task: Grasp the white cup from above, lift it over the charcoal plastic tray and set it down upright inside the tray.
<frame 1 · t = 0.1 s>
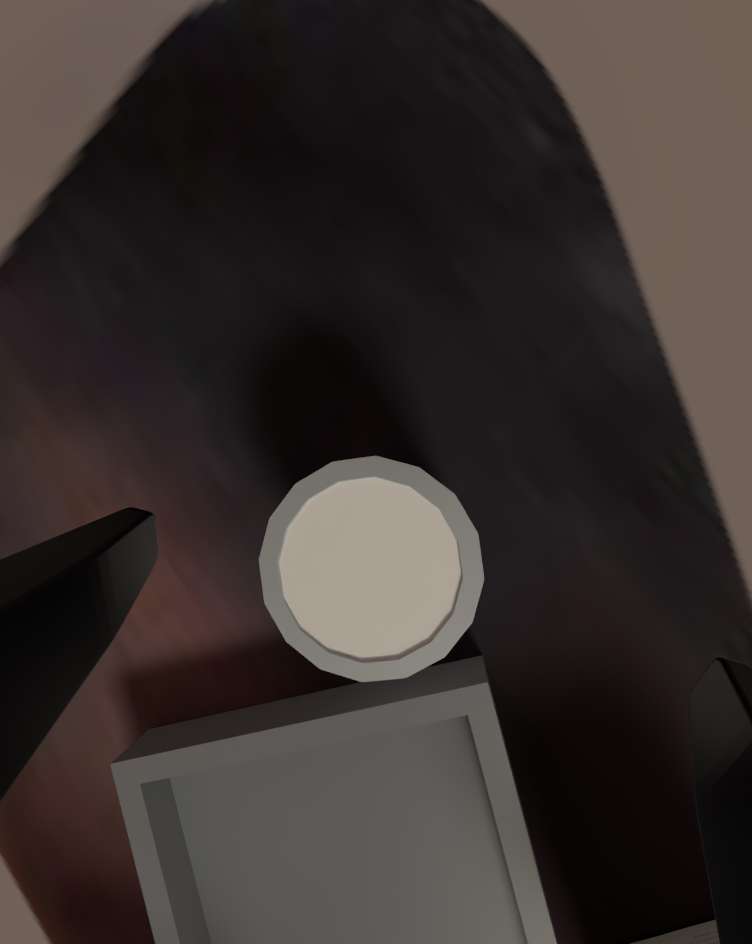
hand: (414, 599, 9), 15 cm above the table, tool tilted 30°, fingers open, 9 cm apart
tray: (354, 865, 25), on the table
white cup: (390, 539, 24), on the table
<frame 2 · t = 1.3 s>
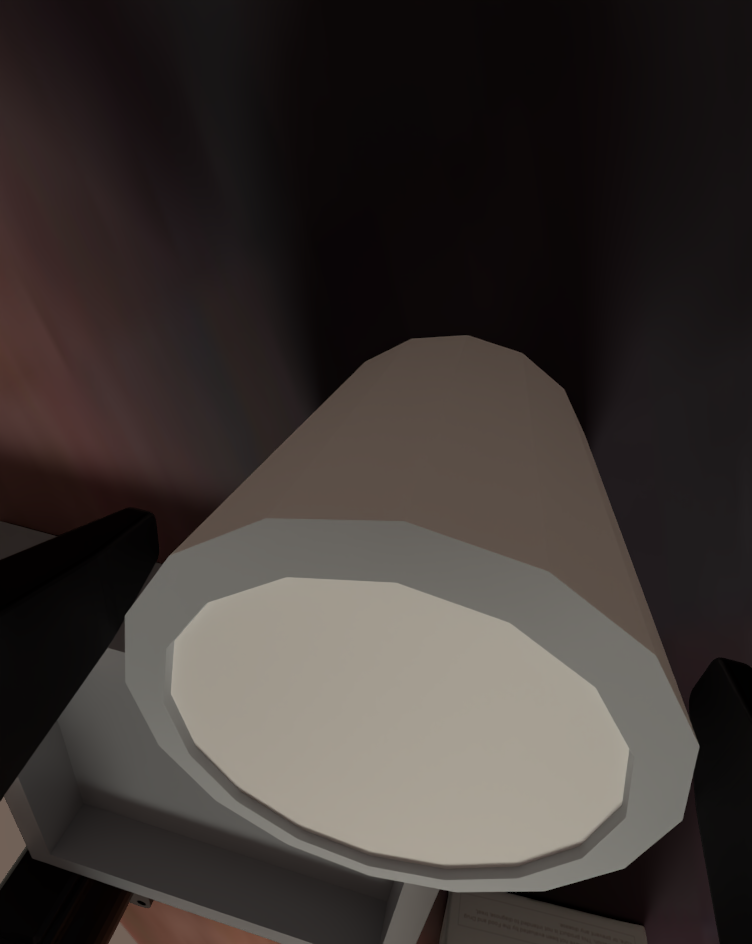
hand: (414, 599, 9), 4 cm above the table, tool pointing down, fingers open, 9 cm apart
tray: (239, 736, 20), on the table
white cup: (450, 454, 13), on the table
supplement box: (532, 931, 24), on the table
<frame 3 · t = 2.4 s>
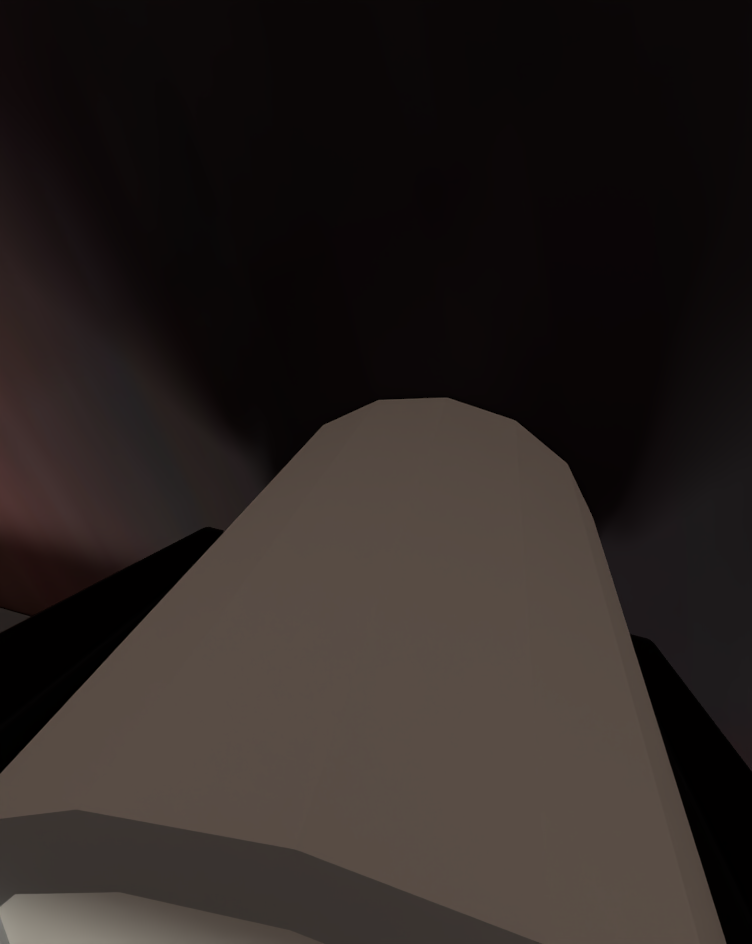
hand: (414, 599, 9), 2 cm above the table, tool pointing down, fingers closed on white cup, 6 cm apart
tray: (201, 814, 18), on the table
white cup: (430, 532, 11), on the table, touching gripper
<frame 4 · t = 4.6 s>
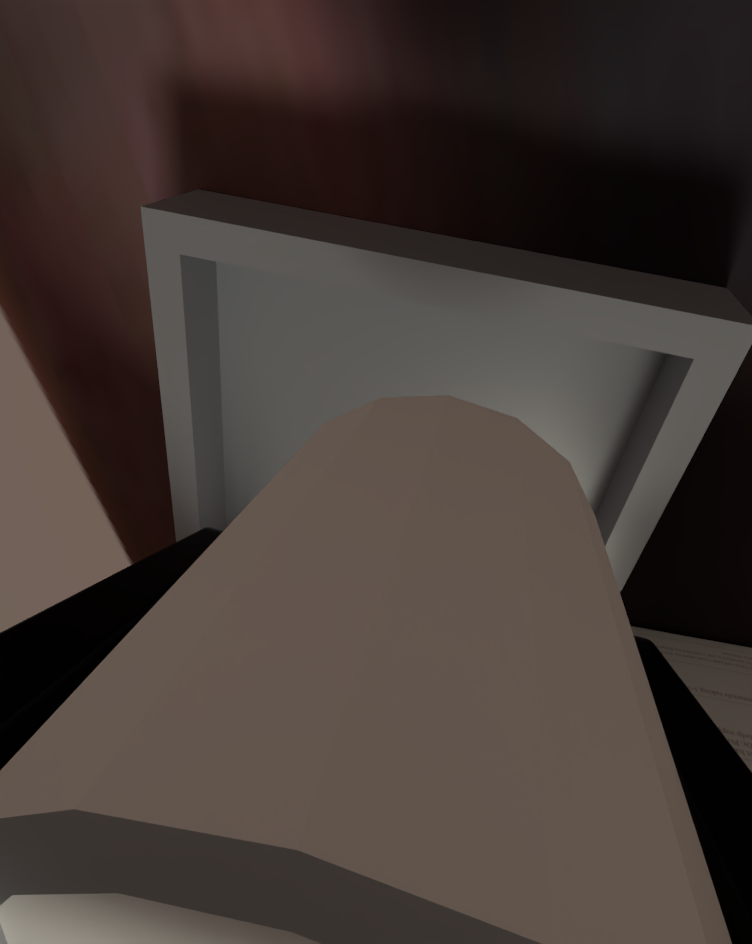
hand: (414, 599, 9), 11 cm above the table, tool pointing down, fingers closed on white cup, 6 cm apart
tray: (406, 457, 20), on the table
white cup: (431, 531, 11), point 9 cm above the table, touching gripper
supplement box: (674, 690, 24), on the table
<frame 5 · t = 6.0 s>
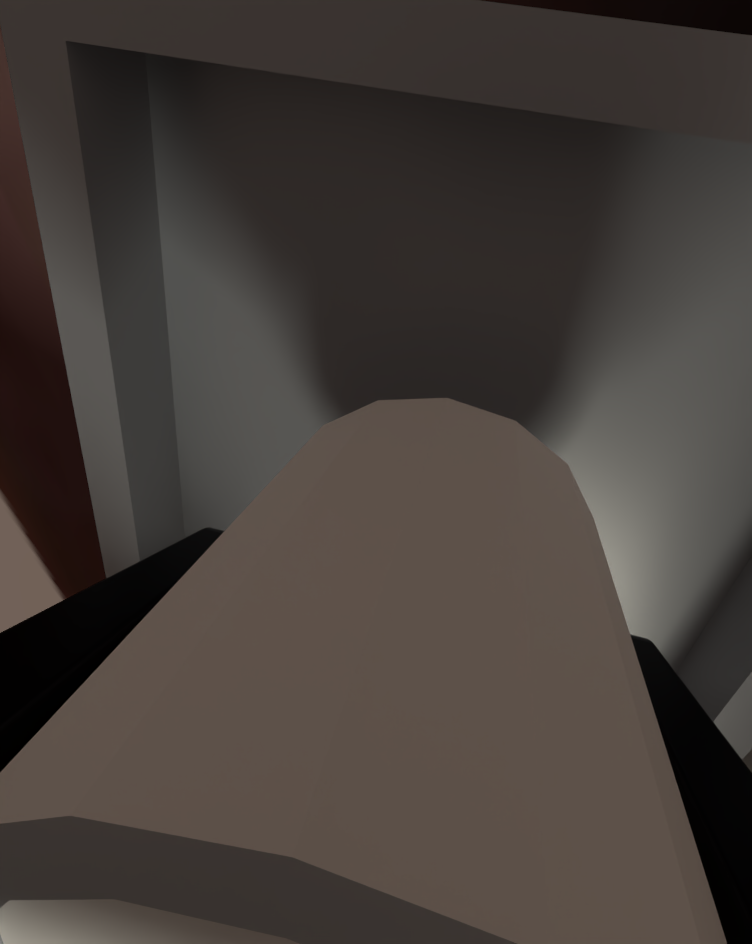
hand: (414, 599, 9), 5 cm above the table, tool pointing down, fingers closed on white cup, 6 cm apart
tray: (456, 439, 13), on the table
white cup: (430, 533, 11), point 3 cm above the table, touching gripper
when the fingers open (4 cm above the table, at t = 7.0 s): white cup drops 2 cm, resting on tray.
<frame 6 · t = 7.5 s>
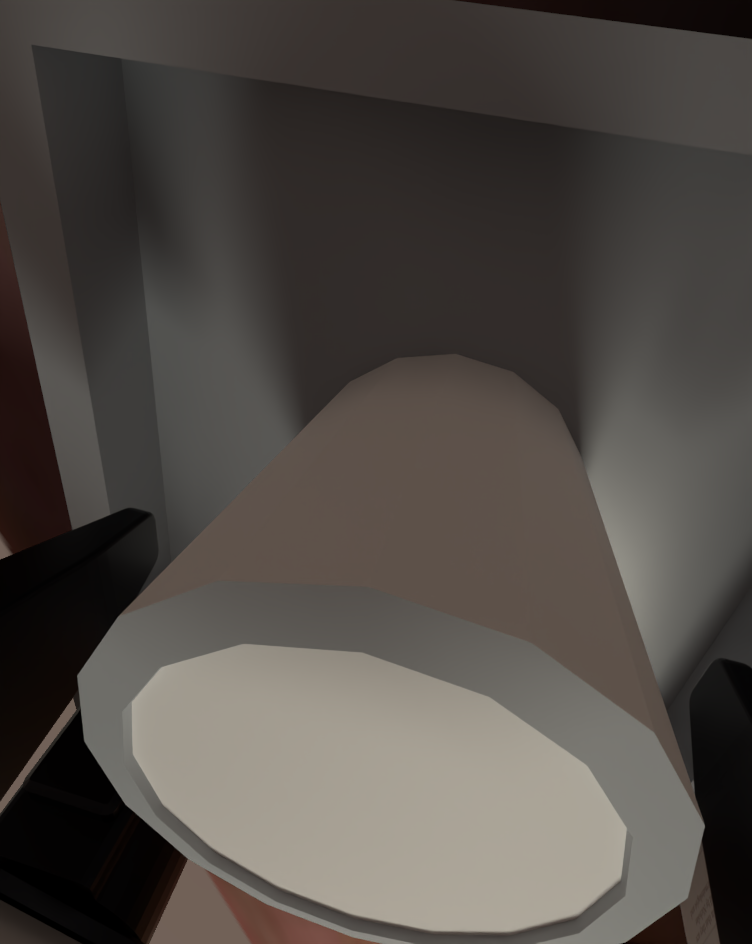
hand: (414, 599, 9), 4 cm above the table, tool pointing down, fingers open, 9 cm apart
tray: (449, 456, 13), on the table
white cup: (441, 476, 12), point 1 cm above the table, touching tray
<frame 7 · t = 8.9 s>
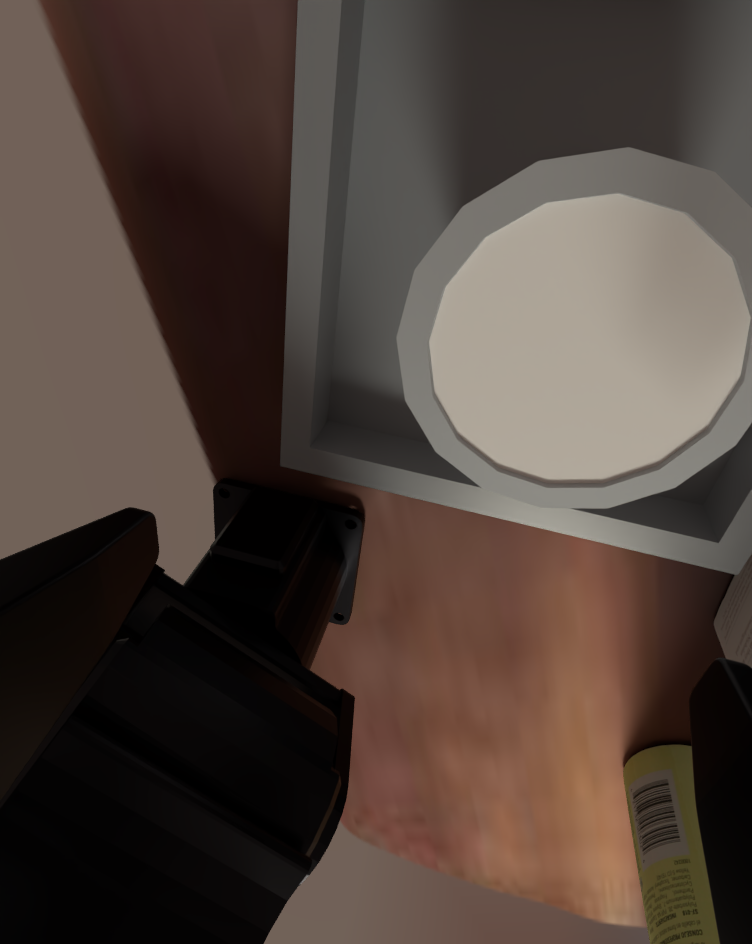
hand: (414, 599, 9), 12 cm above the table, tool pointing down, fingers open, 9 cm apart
tray: (564, 261, 17), on the table
white cup: (562, 269, 17), point 1 cm above the table, touching tray
tube: (674, 769, 28), on the table
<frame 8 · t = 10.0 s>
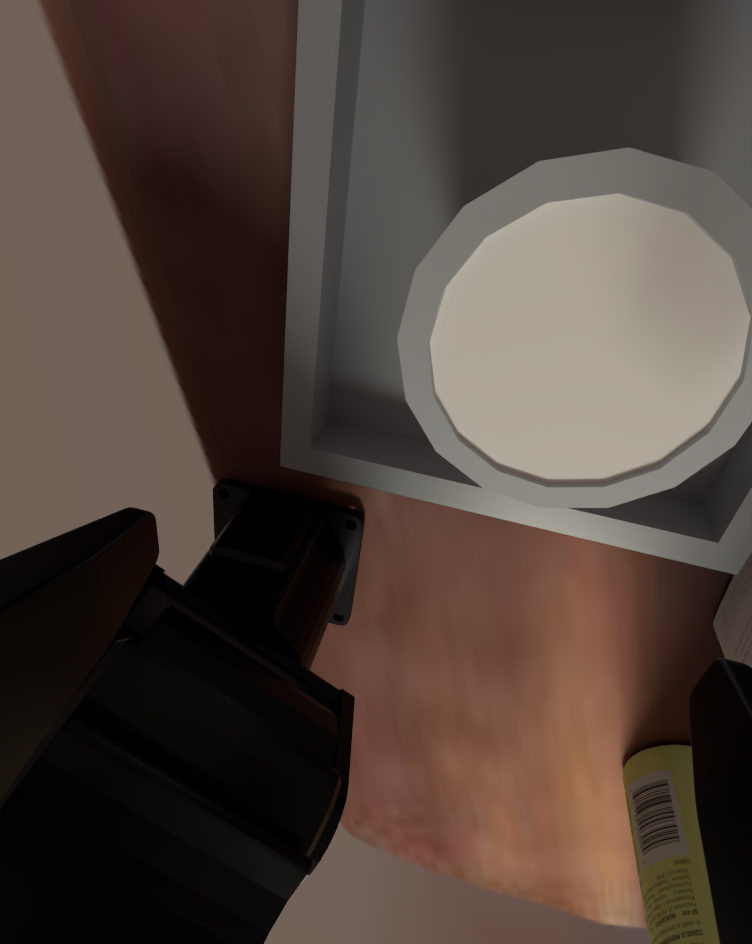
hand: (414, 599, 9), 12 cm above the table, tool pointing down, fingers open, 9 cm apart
tray: (563, 262, 17), on the table
white cup: (562, 270, 17), point 1 cm above the table, touching tray
tube: (673, 770, 28), on the table
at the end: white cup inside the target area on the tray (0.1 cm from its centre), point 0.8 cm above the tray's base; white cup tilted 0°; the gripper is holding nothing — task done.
